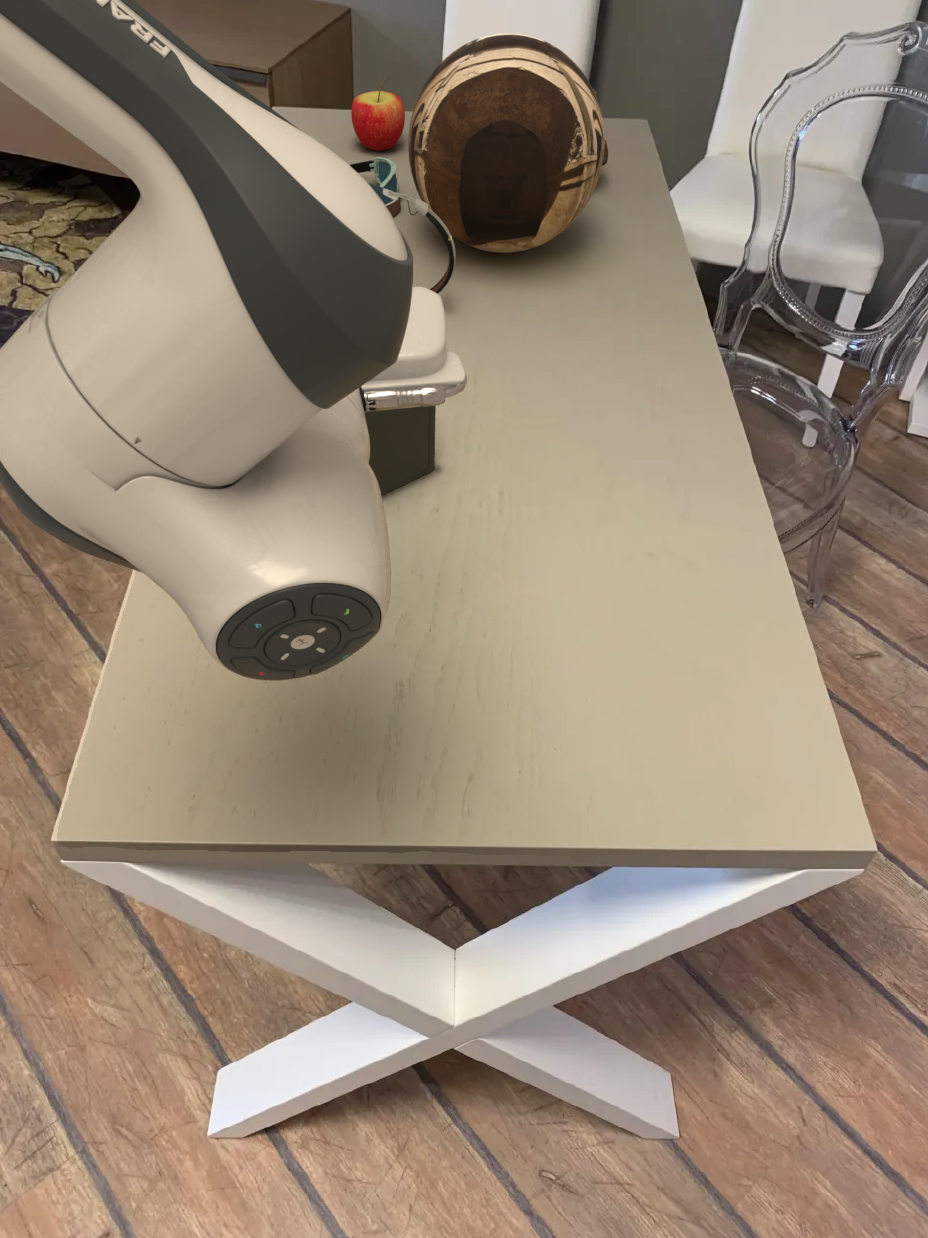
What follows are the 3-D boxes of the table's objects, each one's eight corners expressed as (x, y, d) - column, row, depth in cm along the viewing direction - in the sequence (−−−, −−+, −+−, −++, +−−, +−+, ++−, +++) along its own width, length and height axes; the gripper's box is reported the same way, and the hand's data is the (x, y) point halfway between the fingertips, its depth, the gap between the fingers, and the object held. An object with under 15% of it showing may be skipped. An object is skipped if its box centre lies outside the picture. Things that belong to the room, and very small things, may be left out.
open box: (314, 528, 90) (305, 439, 82) (236, 452, 97) (220, 362, 89) (434, 470, 97) (436, 382, 89) (352, 402, 104) (347, 315, 96)
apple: (416, 150, 149) (416, 81, 142) (370, 162, 146) (368, 92, 138) (387, 132, 154) (385, 65, 146) (342, 143, 150) (338, 74, 143)
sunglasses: (398, 225, 132) (393, 189, 128) (294, 235, 133) (286, 199, 129) (403, 181, 141) (398, 147, 138) (306, 190, 142) (298, 156, 139)
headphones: (266, 307, 114) (446, 331, 116) (264, 181, 103) (463, 210, 105) (274, 282, 119) (448, 305, 120) (273, 158, 107) (464, 187, 109)
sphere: (399, 281, 122) (396, 68, 103) (418, 196, 139) (418, -1, 120) (592, 294, 121) (624, 83, 103) (587, 207, 138) (614, 11, 120)
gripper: (476, 346, 48) (431, 222, 57) (59, 377, 45) (80, 241, 54) (471, 445, 53) (430, 316, 62) (93, 479, 50) (107, 338, 59)
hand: (264, 281), depth 58 cm, fingers open, 8 cm apart
